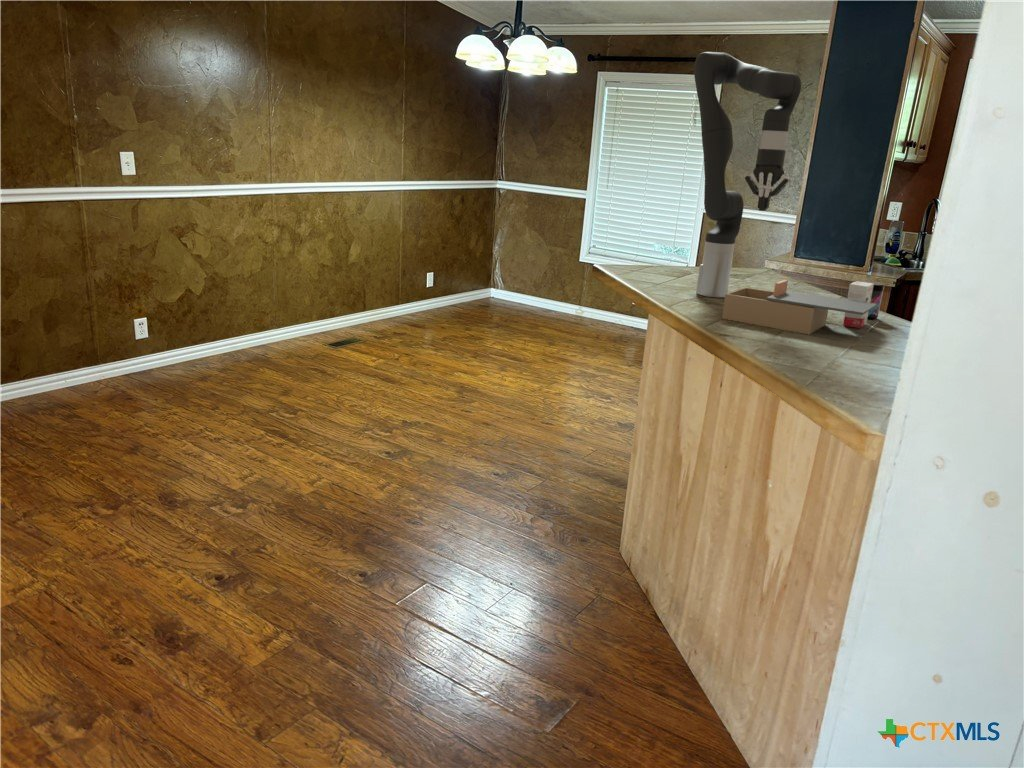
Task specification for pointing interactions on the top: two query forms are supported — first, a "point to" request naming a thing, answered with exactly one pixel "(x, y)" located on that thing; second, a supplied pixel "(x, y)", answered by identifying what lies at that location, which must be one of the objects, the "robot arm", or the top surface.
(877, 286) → the supplement container
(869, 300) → the ink box
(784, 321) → the box
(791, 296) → the mailer lid
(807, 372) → the top surface
